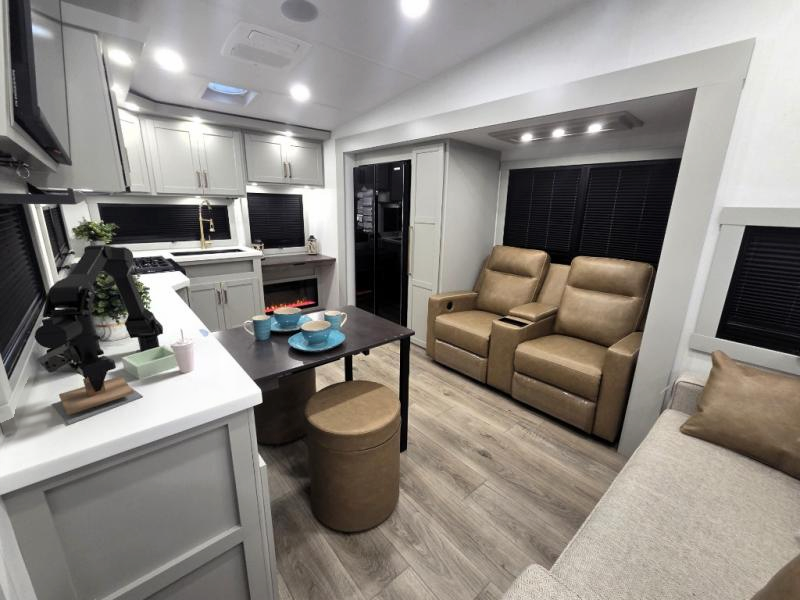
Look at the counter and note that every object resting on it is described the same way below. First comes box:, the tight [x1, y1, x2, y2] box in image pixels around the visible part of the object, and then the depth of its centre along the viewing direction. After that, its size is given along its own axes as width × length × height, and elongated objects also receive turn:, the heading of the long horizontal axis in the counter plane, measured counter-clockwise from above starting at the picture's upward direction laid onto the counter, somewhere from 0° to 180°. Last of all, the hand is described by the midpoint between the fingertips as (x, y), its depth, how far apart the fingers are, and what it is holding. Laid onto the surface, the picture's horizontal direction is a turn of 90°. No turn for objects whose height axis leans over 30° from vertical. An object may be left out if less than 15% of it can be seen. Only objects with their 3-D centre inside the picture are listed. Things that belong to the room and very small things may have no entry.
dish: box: [121, 345, 179, 380], centre depth 109 cm, size 12×12×4 cm
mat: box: [51, 387, 144, 426], centre depth 90 cm, size 15×15×1 cm
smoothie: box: [169, 328, 195, 374], centre depth 106 cm, size 6×6×14 cm
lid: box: [58, 375, 134, 415], centre depth 89 cm, size 13×13×5 cm
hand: (95, 388), depth 89 cm, fingers closed on lid, 4 cm apart
